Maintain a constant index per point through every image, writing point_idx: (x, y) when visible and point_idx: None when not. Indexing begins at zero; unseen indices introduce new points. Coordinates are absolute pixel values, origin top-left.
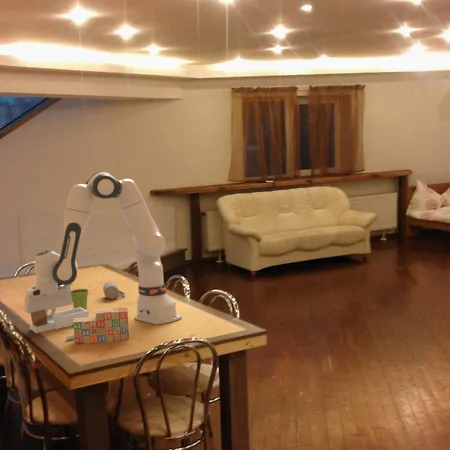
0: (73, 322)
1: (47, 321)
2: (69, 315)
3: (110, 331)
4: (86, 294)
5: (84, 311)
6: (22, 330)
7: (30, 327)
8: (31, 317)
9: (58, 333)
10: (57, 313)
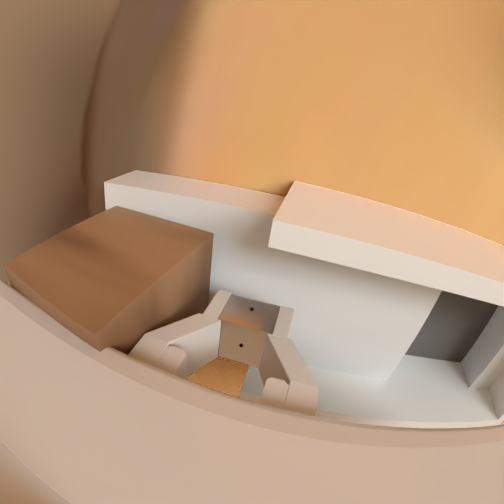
0: None
1: (249, 256)
2: (381, 423)
3: None
4: None
5: (485, 424)
6: (95, 141)
7: (124, 175)
8: (64, 237)
9: (236, 386)
10: (417, 276)
